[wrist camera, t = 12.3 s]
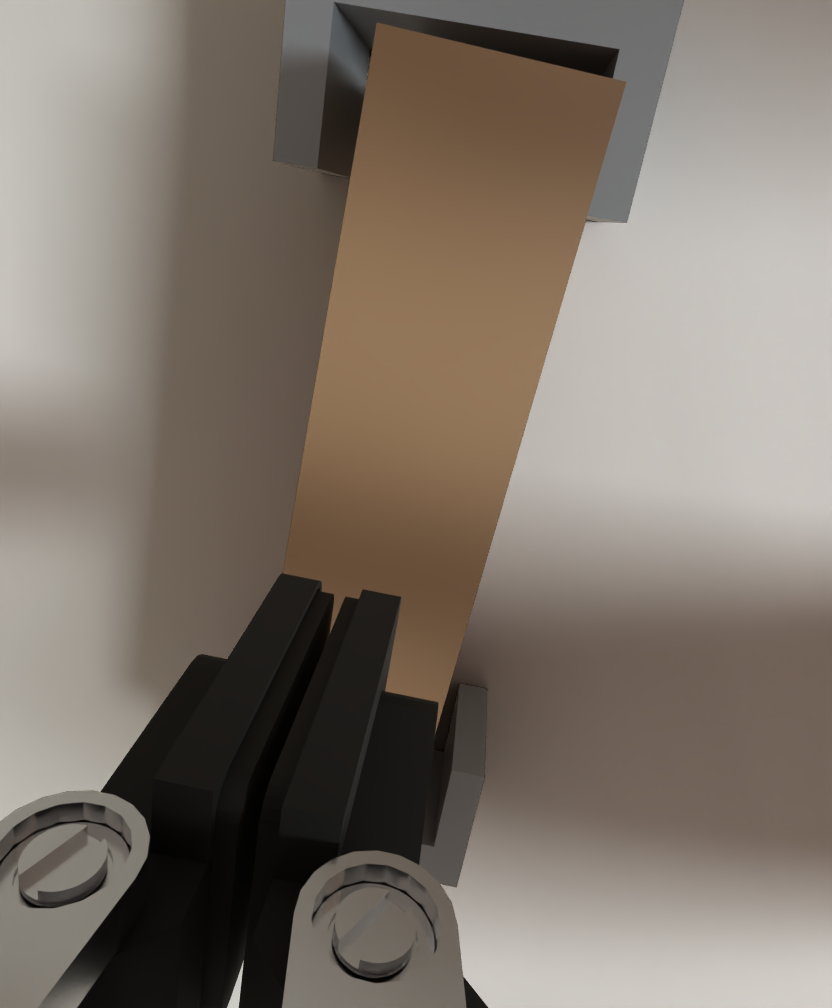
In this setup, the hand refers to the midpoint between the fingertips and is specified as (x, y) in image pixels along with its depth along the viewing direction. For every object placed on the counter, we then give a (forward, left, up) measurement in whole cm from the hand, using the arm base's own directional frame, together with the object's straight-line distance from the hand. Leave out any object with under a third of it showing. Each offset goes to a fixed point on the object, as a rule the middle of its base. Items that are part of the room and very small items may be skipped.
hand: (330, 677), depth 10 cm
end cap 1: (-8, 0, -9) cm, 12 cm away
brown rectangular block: (0, 0, -9) cm, 9 cm away
